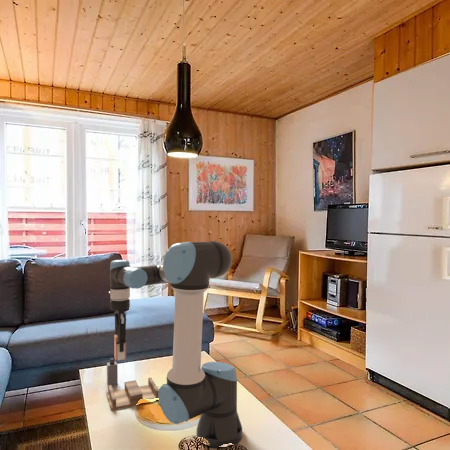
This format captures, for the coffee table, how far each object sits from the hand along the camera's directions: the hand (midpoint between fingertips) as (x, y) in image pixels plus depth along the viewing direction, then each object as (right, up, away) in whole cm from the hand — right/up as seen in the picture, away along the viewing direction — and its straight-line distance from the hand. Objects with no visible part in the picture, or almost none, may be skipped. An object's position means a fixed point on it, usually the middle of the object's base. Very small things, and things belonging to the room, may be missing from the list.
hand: (120, 357), depth 147 cm
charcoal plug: (-8, -17, +15) cm, 24 cm away
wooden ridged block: (+5, -17, +2) cm, 18 cm away
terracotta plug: (0, 0, 0) cm, 0 cm away
